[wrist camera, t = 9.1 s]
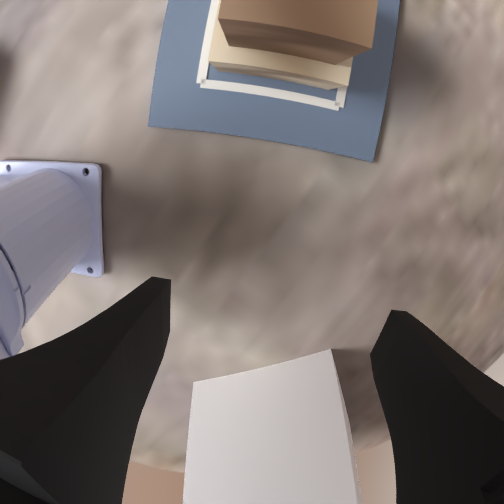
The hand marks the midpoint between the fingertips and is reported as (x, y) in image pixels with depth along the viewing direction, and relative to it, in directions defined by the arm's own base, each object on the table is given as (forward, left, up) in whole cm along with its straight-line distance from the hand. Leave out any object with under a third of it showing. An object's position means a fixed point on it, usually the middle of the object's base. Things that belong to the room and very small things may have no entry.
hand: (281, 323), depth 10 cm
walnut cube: (-1, +11, -6) cm, 12 cm away
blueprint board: (-1, +11, -10) cm, 15 cm away
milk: (+4, -18, -11) cm, 21 cm away
